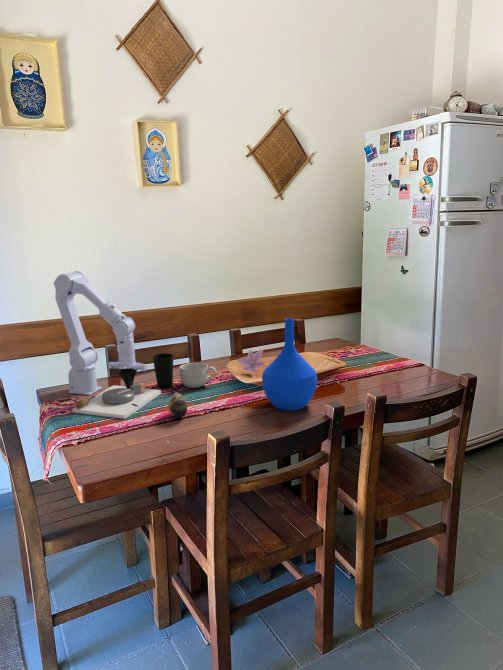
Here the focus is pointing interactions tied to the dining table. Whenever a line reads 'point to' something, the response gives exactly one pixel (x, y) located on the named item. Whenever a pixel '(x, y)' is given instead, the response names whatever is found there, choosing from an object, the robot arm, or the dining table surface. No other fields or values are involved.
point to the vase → (289, 376)
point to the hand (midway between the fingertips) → (129, 388)
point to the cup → (164, 370)
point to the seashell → (177, 405)
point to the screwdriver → (83, 402)
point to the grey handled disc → (122, 394)
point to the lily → (252, 361)
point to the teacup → (195, 374)
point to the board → (117, 410)
